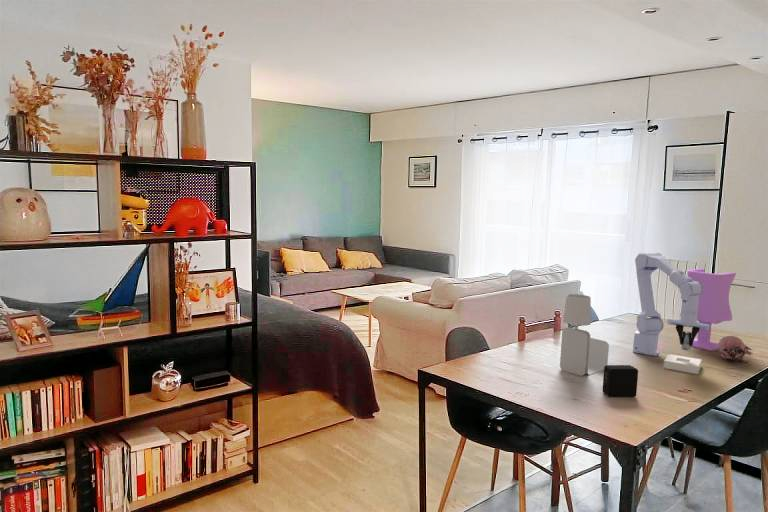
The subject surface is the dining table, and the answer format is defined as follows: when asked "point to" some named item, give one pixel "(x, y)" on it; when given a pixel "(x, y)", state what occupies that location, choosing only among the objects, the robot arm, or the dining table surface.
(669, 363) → the socket block
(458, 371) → the dining table surface
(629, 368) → the electronic device
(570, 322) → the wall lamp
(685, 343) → the peg
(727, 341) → the toy
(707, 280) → the pink table lamp
